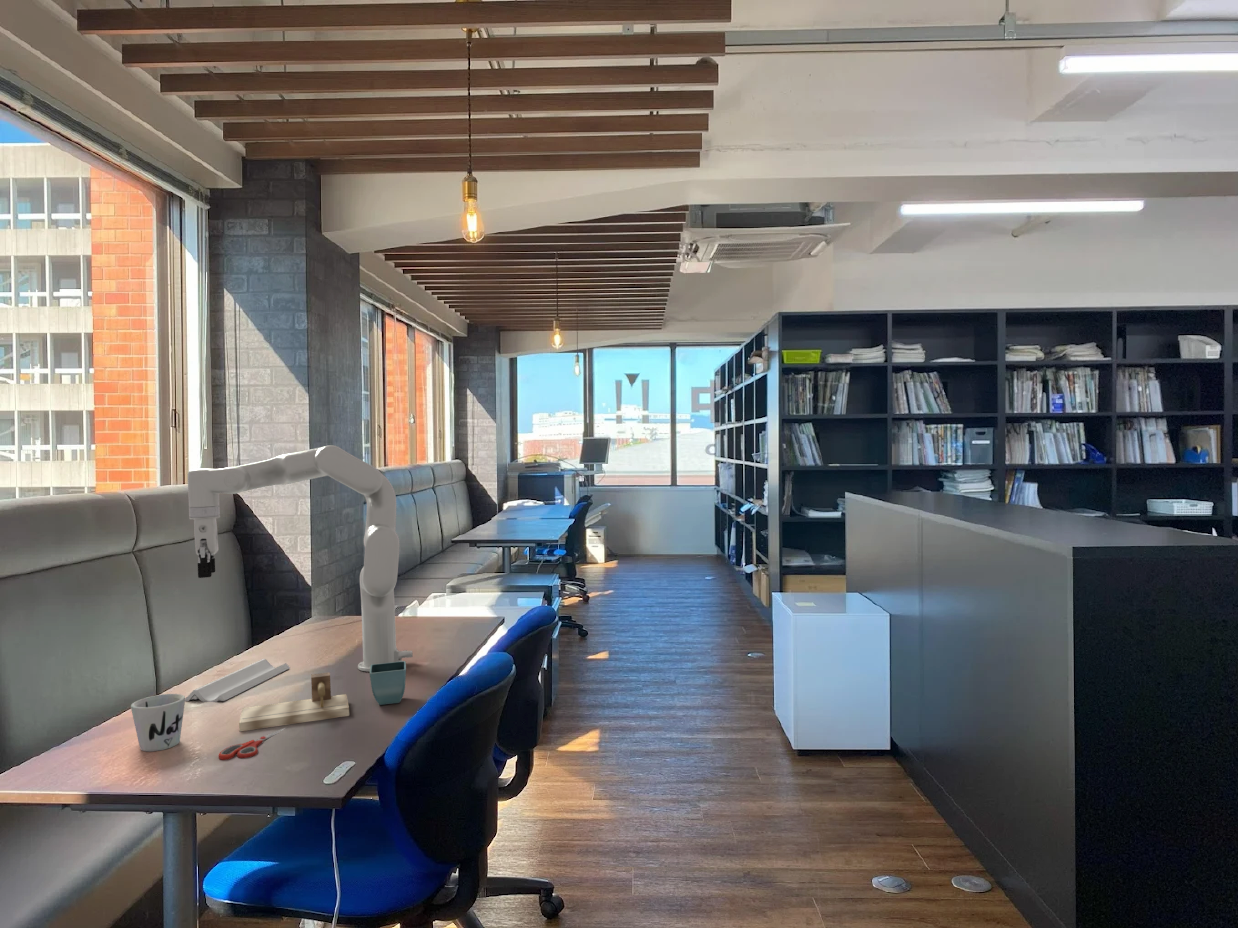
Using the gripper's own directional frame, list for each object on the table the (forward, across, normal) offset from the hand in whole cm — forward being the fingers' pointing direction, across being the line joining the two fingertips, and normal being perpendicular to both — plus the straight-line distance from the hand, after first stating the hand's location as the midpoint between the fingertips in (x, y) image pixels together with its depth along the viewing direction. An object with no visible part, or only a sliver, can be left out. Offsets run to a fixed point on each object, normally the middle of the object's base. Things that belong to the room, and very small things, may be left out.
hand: (206, 574), depth 219 cm
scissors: (+32, -53, -14) cm, 63 cm away
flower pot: (+32, -37, -44) cm, 66 cm away
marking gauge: (+31, -37, -28) cm, 56 cm away
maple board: (+31, -38, -22) cm, 54 cm away
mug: (+32, -44, +7) cm, 55 cm away
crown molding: (+32, 0, -7) cm, 33 cm away
